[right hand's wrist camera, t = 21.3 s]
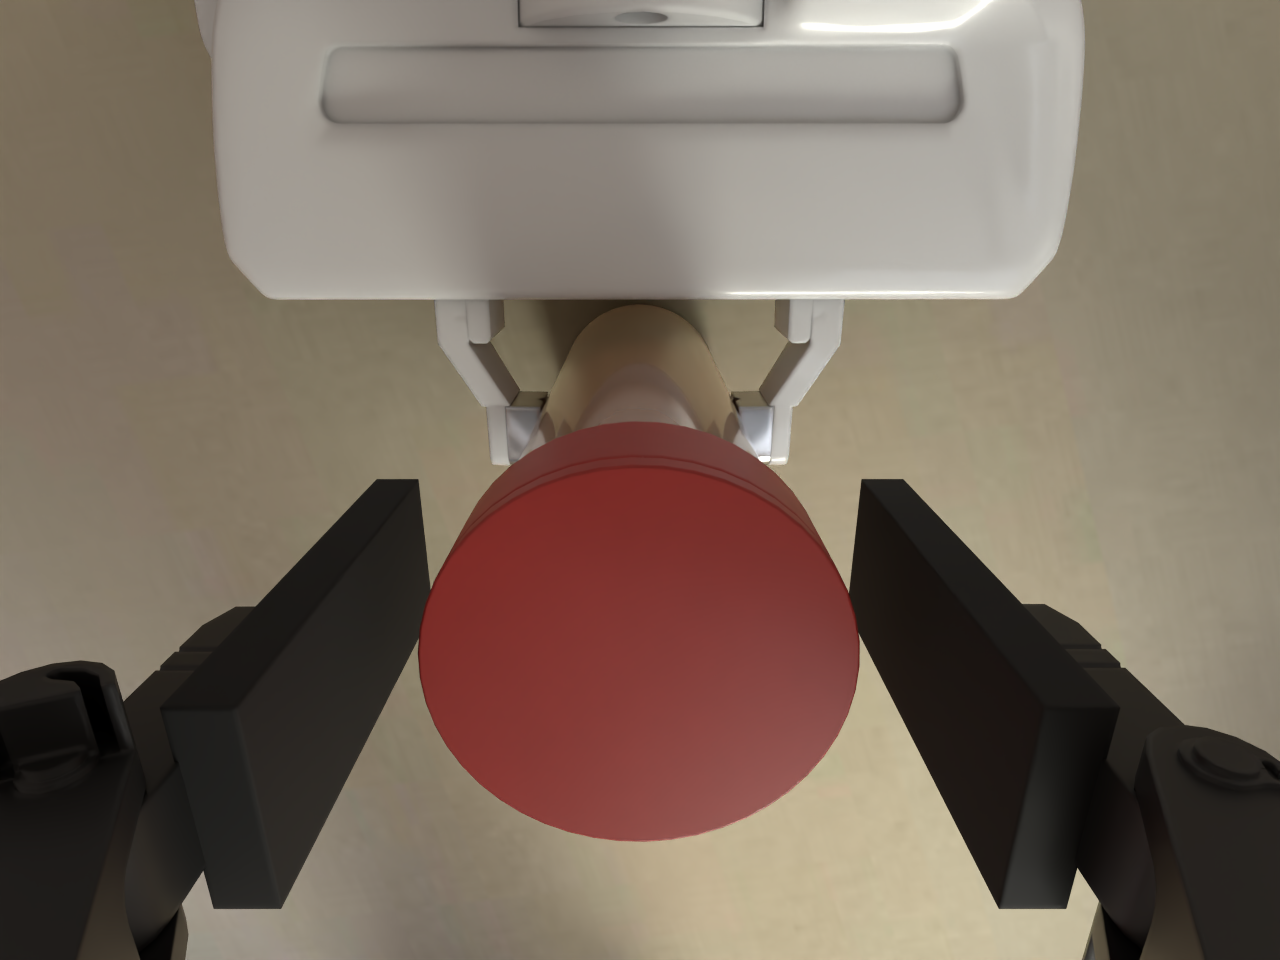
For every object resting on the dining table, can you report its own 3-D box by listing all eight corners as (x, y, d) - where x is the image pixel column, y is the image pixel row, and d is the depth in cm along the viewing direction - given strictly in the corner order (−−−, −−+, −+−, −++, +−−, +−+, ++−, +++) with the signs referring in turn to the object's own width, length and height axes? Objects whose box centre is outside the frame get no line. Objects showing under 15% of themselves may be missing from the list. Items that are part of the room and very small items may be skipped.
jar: (541, 413, 27) (402, 713, 11) (602, 277, 26) (541, 401, 10) (672, 473, 28) (716, 831, 12) (740, 345, 27) (894, 564, 10)
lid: (743, 354, 11) (766, 386, 9) (874, 677, 13) (916, 762, 11) (381, 513, 12) (331, 574, 10) (555, 793, 13) (541, 890, 12)
